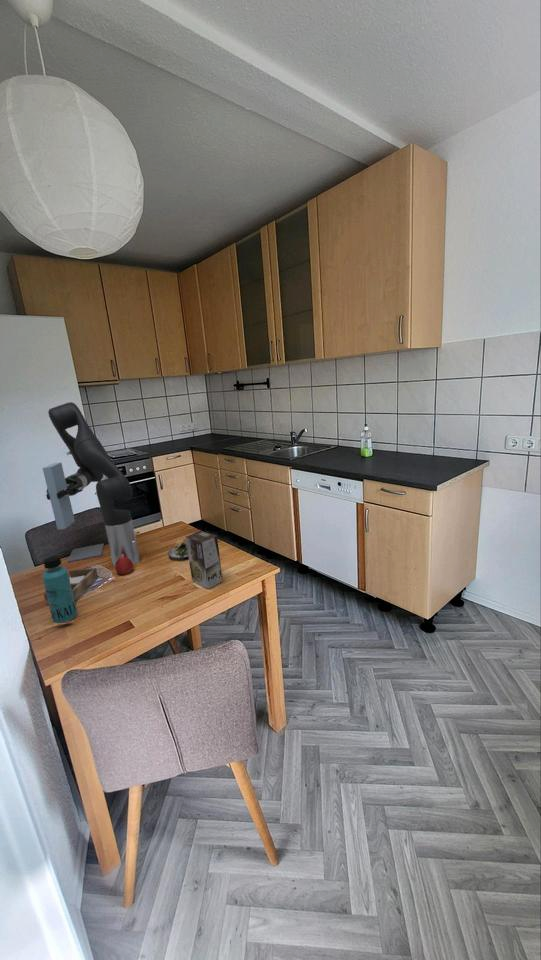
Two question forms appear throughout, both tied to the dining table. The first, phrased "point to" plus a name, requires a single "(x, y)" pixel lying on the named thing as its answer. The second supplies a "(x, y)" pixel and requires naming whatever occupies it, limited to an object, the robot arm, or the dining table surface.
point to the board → (55, 485)
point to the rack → (83, 585)
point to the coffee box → (204, 558)
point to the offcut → (76, 579)
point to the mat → (86, 552)
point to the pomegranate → (123, 565)
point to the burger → (178, 551)
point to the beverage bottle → (59, 591)
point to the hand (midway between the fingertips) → (53, 496)
